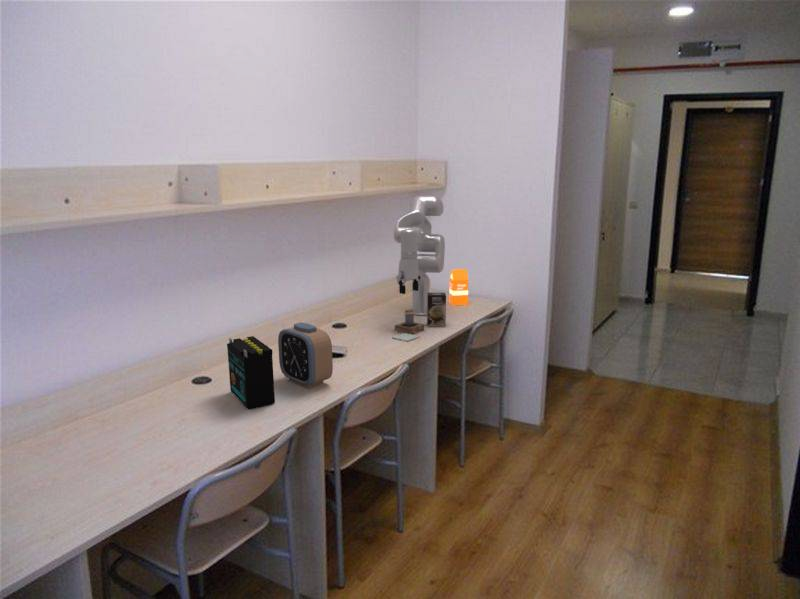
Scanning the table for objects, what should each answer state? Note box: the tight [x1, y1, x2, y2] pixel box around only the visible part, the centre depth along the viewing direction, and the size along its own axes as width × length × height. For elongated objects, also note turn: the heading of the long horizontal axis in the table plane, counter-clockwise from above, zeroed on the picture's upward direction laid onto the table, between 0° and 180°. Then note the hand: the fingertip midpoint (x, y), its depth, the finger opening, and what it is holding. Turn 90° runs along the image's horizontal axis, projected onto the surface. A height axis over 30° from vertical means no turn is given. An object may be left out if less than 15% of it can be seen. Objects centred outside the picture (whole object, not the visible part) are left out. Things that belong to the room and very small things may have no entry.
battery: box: [226, 335, 276, 410], centre depth 211 cm, size 19×10×20 cm, turn 32°
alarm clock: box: [277, 322, 334, 389], centre depth 225 cm, size 21×10×22 cm, turn 45°
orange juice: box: [448, 268, 469, 307], centre depth 344 cm, size 8×9×20 cm
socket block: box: [394, 321, 425, 335], centre depth 293 cm, size 10×10×3 cm
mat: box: [391, 333, 420, 342], centre depth 282 cm, size 9×9×1 cm
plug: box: [404, 309, 415, 327], centre depth 292 cm, size 4×4×10 cm
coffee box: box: [426, 292, 447, 328], centre depth 301 cm, size 9×6×16 cm
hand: (409, 291), depth 288 cm, fingers open, 9 cm apart
